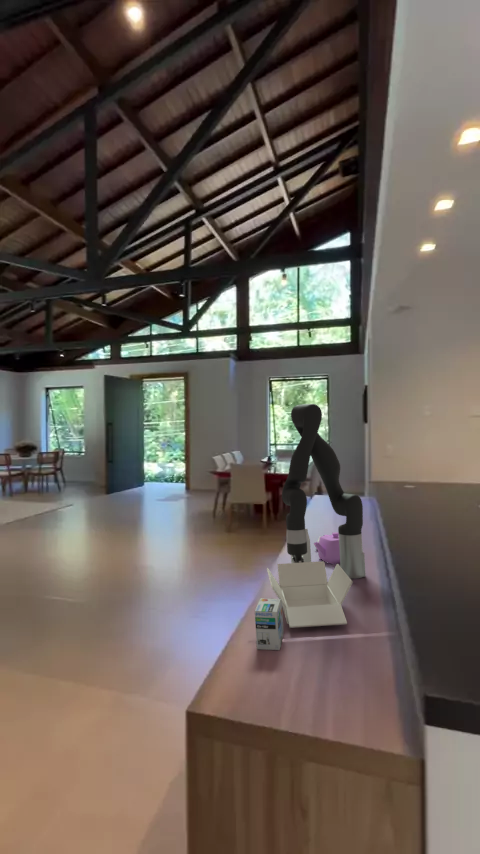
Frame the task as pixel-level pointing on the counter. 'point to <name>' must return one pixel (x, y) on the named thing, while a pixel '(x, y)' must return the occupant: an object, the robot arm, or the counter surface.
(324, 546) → the teakettle
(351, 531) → the robot arm
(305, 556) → the milk carton
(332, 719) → the counter surface
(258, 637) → the light bulb box
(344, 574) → the carton
